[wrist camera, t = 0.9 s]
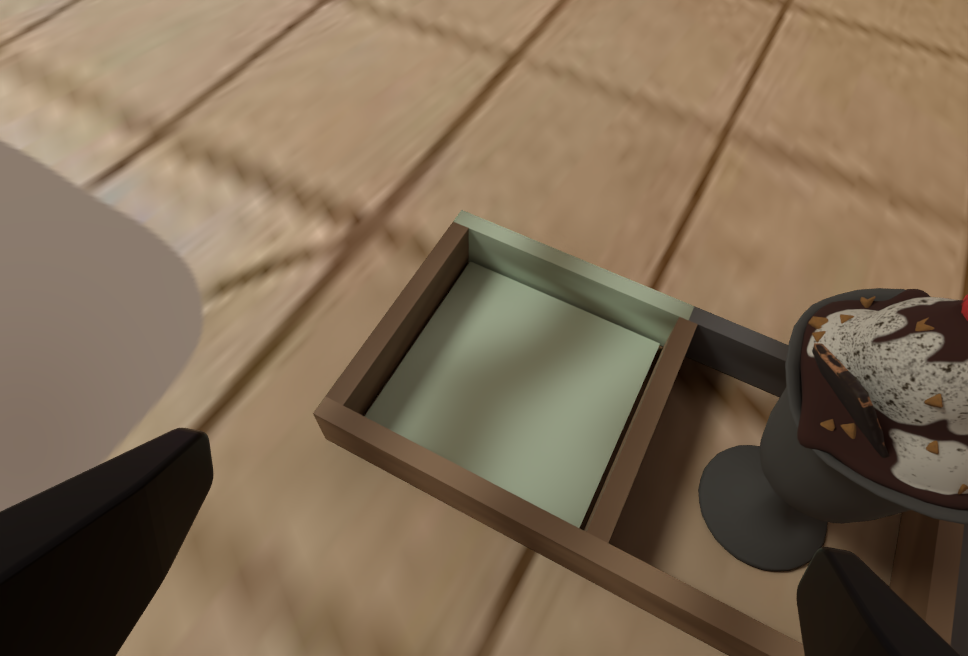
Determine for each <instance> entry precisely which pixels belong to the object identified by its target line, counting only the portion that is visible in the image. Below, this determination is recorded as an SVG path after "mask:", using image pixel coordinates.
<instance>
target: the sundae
mask: <svg viewBox="0 0 968 656" xmlns="http://www.w3.org/2000/svg"><path fill="white" fill-rule="evenodd" d="M785 368H786V389H785V390H784V392H783V394H782V395H781V397H780V398H779V400H778V402H777V403H776V405H775V407H774V408H773V410H772V412H771V414H770V416H769V419H768V422H767V424H766V427H765V430H764V432H763V436H762V439H761V443H760V446H752V445H740V446H736V447H732V448H729V449H727V450H724V451H722V452H720V453H718V454H717V455H716V456H715V457H714V458H713V459H712V460H711V461H710V462H709V463H708V465H707V466H706V467H705V469H704V471H703V474H702V477H701V480H700V485H699V490H698V491H699V503H700V508H701V513H702V516H703V518H704V520H705V522H706V524H707V526H708V528H709V530H710V531H711V533H712V535H713V536H714V538H715V539H716V540H717V541H718V542H719V543H720V544H721V545H722V546H723V547H724V548H725V549H726V550H727V551H728V552H729V553H730V554H732V555H733V556H734V557H735V558H737V559H739V560H741V561H742V562H744V563H746V564H748V565H751V566H753V567H756V568H759V569H761V570H769V571H789V570H792V569H795V568H798V567H801V566H802V565H804V564H806V563H808V562H810V561H811V560H812V558H813V556H814V554H815V552H816V551H817V550H818V549H819V548H821V547H822V545H823V544H824V540H825V536H826V531H827V522H831V523H852V522H862V521H870V520H875V519H879V518H883V517H886V516H890V515H894V514H898V513H902V512H906V511H909V510H912V511H915V512H918V513H920V514H923V515H926V516H928V517H931V518H934V519H939V520H944V521H949V522H954V523H959V524H967V525H968V295H966V296H965V298H964V299H963V300H953V299H948V298H936V297H930V296H929V295H928V294H927V293H926V292H924V291H922V290H918V289H907V290H904V289H882V288H877V289H864V290H855V291H851V292H847V293H843V294H839V295H836V296H832V297H829V298H826V299H824V300H822V301H820V302H818V303H815V304H813V305H812V306H811V307H810V308H809V309H808V310H806V311H805V312H804V313H803V315H802V316H801V317H800V319H799V320H798V322H797V323H796V324H795V326H794V328H793V331H792V335H791V338H790V341H789V346H788V351H787V357H786V363H785Z"/></svg>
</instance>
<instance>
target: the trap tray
mask: <svg viewBox="0 0 968 656" xmlns="http://www.w3.org/2000/svg"><path fill="white" fill-rule="evenodd" d="M468 262H469V264H468V265H467V263H468ZM466 265H467V267H466V268H465V266H466ZM464 268H465V270H464V271H463V269H464ZM462 271H463V273H462V274H461V272H462ZM460 274H461V276H460V277H459V275H460ZM458 277H459V279H458V280H457V278H458ZM456 280H457V281H456ZM455 281H456V283H455V284H454V282H455ZM453 284H454V286H453V287H452V285H453ZM451 287H452V289H451V290H450V288H451ZM449 290H450V292H449V293H448V291H449ZM447 293H448V295H447V296H446V294H447ZM445 296H446V298H445V299H444V297H445ZM443 299H444V301H443V302H442V300H443ZM441 302H442V303H441ZM440 303H441V305H440V306H439V304H440ZM438 306H439V308H438V309H437V307H438ZM436 309H437V311H436V312H435V310H436ZM434 312H435V314H434V315H433V313H434ZM432 315H433V317H432V318H431V316H432ZM430 318H431V320H430V321H429V319H430ZM428 321H429V323H428V324H427V325H426V323H427V322H428ZM425 325H426V327H425V328H424V326H425ZM423 328H424V330H423V331H422V329H423ZM421 331H422V333H421V334H420V332H421ZM419 334H420V336H419V337H418V335H419ZM417 337H418V339H417V340H416V338H417ZM415 340H416V342H415V343H414V345H413V346H412V347H411V345H412V344H413V342H414V341H415ZM659 345H661V346H663V349H662V351H661V353H660V356H659V358H658V360H657V363H656V365H655V367H654V370H653V372H652V374H651V376H650V379H649V381H648V383H647V386H646V388H645V390H644V393H643V395H642V397H641V400H640V402H639V404H638V406H637V409H636V411H635V413H634V416H633V418H632V420H631V423H630V425H629V427H628V430H627V432H626V434H625V436H624V439H623V441H622V443H621V446H620V448H619V450H618V453H617V455H616V457H615V460H614V462H613V464H612V467H611V469H610V471H609V473H608V476H607V478H606V480H605V483H604V485H603V487H602V490H601V492H600V494H599V497H598V499H597V501H596V503H595V506H594V508H593V510H592V513H591V515H590V517H589V520H588V522H587V524H586V527H585V529H584V530H582V529H580V525H581V523H582V521H583V519H584V516H585V514H586V512H587V509H588V507H589V505H590V503H591V500H592V498H593V496H594V493H595V491H596V489H597V487H598V484H599V482H600V480H601V477H602V475H603V473H604V471H605V468H606V466H607V464H608V461H609V459H610V457H611V455H612V452H613V450H614V448H615V445H616V443H617V441H618V439H619V436H620V434H621V432H622V429H623V427H624V425H625V423H626V420H627V418H628V416H629V413H630V411H631V409H632V407H633V404H634V402H635V400H636V397H637V395H638V393H639V391H640V388H641V386H642V384H643V381H644V379H645V377H646V375H647V372H648V370H649V368H650V366H651V363H652V361H653V359H654V356H655V354H656V352H657V350H658V347H659ZM788 346H789V345H786V344H784V343H782V342H779V341H777V340H774V339H772V338H770V337H767V336H765V335H762V334H760V333H757V332H755V331H753V330H750V329H748V328H745V327H743V326H741V325H738V324H736V323H733V322H731V321H729V320H726V319H724V318H721V317H719V316H716V315H714V314H712V313H709V312H707V311H704V310H702V309H700V308H697V307H695V306H692V305H690V304H687V303H685V302H683V301H680V300H678V299H675V298H673V297H671V296H668V295H666V294H663V293H661V292H659V291H656V290H654V289H651V288H649V287H646V286H644V285H642V284H639V283H637V282H634V281H632V280H630V279H627V278H625V277H622V276H620V275H617V274H615V273H613V272H610V271H608V270H605V269H603V268H601V267H598V266H596V265H593V264H591V263H589V262H586V261H584V260H581V259H579V258H576V257H574V256H572V255H569V254H567V253H564V252H562V251H560V250H557V249H555V248H552V247H550V246H548V245H545V244H543V243H540V242H538V241H535V240H533V239H531V238H528V237H526V236H523V235H521V234H519V233H516V232H514V231H511V230H509V229H506V228H504V227H502V226H499V225H497V224H494V223H492V222H490V221H487V220H485V219H482V218H480V217H478V216H475V215H473V214H470V213H468V212H465V211H463V210H461V212H460V213H459V214H458V216H457V217H456V218H455V220H454V221H453V223H452V224H451V225H450V227H449V228H448V229H447V231H446V232H445V234H444V235H443V236H442V238H441V239H440V240H439V242H438V243H437V244H436V246H435V247H434V249H433V250H432V251H431V253H430V254H429V255H428V257H427V258H426V259H425V261H424V262H423V264H422V265H421V266H420V268H419V269H418V270H417V272H416V273H415V275H414V276H413V277H412V279H411V280H410V281H409V283H408V284H407V285H406V287H405V288H404V290H403V291H402V292H401V294H400V295H399V296H398V298H397V299H396V300H395V302H394V303H393V305H392V306H391V307H390V309H389V310H388V311H387V313H386V314H385V316H384V317H383V318H382V320H381V321H380V322H379V324H378V325H377V326H376V328H375V329H374V331H373V332H372V333H371V335H370V336H369V337H368V339H367V340H366V341H365V343H364V344H363V346H362V347H361V348H360V350H359V351H358V352H357V354H356V355H355V357H354V358H353V359H352V361H351V362H350V363H349V365H348V366H347V367H346V369H345V370H344V372H343V373H342V374H341V376H340V377H339V378H338V380H337V381H336V383H335V384H334V385H333V387H332V388H331V389H330V391H329V392H328V393H327V395H326V396H325V398H324V399H323V400H322V402H321V403H320V404H319V406H318V407H317V408H316V410H315V411H314V413H313V414H314V416H315V418H316V420H317V422H318V424H319V426H320V428H321V430H322V432H323V434H324V436H325V438H326V439H327V440H329V441H331V442H333V443H335V444H337V445H339V446H340V447H342V448H344V449H346V450H348V451H350V452H352V453H353V454H355V455H357V456H359V457H361V458H363V459H365V460H366V461H368V462H370V463H372V464H374V465H376V466H378V467H379V468H381V469H383V470H385V471H387V472H389V473H391V474H392V475H394V476H396V477H398V478H400V479H402V480H404V481H405V482H407V483H409V484H411V485H413V486H415V487H417V488H418V489H420V490H422V491H424V492H426V493H428V494H430V495H431V496H433V497H435V498H437V499H439V500H441V501H443V502H445V503H446V504H448V505H450V506H452V507H454V508H456V509H458V510H459V511H461V512H463V513H465V514H467V515H469V516H471V517H472V518H474V519H476V520H478V521H480V522H482V523H484V524H485V525H487V526H489V527H491V528H493V529H495V530H497V531H498V532H500V533H502V534H504V535H506V536H508V537H510V538H511V539H513V540H515V541H517V542H519V543H521V544H523V545H524V546H526V547H528V548H530V549H532V550H534V551H536V552H537V553H539V554H541V555H543V556H545V557H547V558H549V559H550V560H552V561H554V562H556V563H558V564H560V565H562V566H563V567H565V568H567V569H569V570H571V571H573V572H575V573H576V574H578V575H580V576H582V577H584V578H586V579H588V580H589V581H591V582H593V583H595V584H597V585H599V586H601V587H602V588H604V589H606V590H608V591H610V592H612V593H614V594H616V595H617V596H619V597H621V598H623V599H625V600H627V601H629V602H630V603H632V604H634V605H636V606H638V607H640V608H642V609H643V610H645V611H647V612H649V613H651V614H653V615H655V616H656V617H658V618H660V619H662V620H664V621H666V622H668V623H669V624H671V625H673V626H675V627H677V628H679V629H681V630H682V631H684V632H686V633H688V634H690V635H692V636H694V637H695V638H697V639H699V640H701V641H703V642H705V643H707V644H708V645H710V646H712V647H714V648H716V649H718V650H720V651H721V652H723V653H725V654H727V655H729V656H805V655H804V648H803V644H801V643H799V642H797V641H795V640H793V639H791V638H790V637H788V636H786V635H784V634H782V633H780V632H778V631H776V630H774V629H772V628H770V627H768V626H766V625H765V624H763V623H761V622H759V621H757V620H755V619H753V618H751V617H749V616H747V615H745V614H743V613H741V612H739V611H738V610H736V609H734V608H732V607H730V606H728V605H726V604H724V603H722V602H720V601H718V600H716V599H714V598H713V597H711V596H709V595H707V594H705V593H703V592H701V591H699V590H697V589H695V588H693V587H691V586H689V585H688V584H686V583H684V582H682V581H680V580H678V579H676V578H674V577H672V576H670V575H668V574H666V573H664V572H663V571H661V570H659V569H657V568H655V567H653V566H651V565H649V564H647V563H645V562H643V561H641V560H639V559H638V558H636V557H634V556H632V555H630V554H628V553H626V552H624V551H622V550H620V549H618V548H616V547H614V546H612V545H611V544H609V540H610V538H611V535H612V533H613V531H614V528H615V526H616V523H617V521H618V518H619V516H620V513H621V511H622V508H623V506H624V504H625V501H626V499H627V496H628V494H629V491H630V489H631V486H632V484H633V482H634V479H635V477H636V474H637V472H638V469H639V467H640V464H641V462H642V459H643V457H644V455H645V452H646V450H647V447H648V445H649V442H650V440H651V437H652V435H653V433H654V430H655V428H656V425H657V423H658V420H659V418H660V415H661V413H662V411H663V408H664V406H665V403H666V401H667V398H668V396H669V393H670V391H671V388H672V386H673V384H674V381H675V379H676V376H677V374H678V371H679V369H680V366H681V364H682V362H683V359H684V357H685V356H686V357H689V358H691V359H693V360H696V361H698V362H700V363H702V364H705V365H707V366H709V367H712V368H714V369H716V370H719V371H721V372H723V373H725V374H728V375H730V376H732V377H735V378H737V379H739V380H742V381H744V382H746V383H749V384H751V385H753V386H755V387H758V388H760V389H762V390H765V391H767V392H769V393H772V394H774V395H776V396H778V397H781V395H782V394H783V392H784V390H785V389H786V368H785V363H786V357H787V351H788ZM410 347H411V349H410V350H409V348H410ZM408 350H409V352H408V353H407V351H408ZM406 353H407V355H406V356H405V354H406ZM404 356H405V358H404V359H403V357H404ZM402 359H403V361H402V362H401V360H402ZM400 362H401V364H400V365H399V367H398V368H397V369H396V367H397V366H398V364H399V363H400ZM395 369H396V371H395V372H394V370H395ZM393 372H394V374H393V375H392V373H393ZM391 375H392V377H391V378H390V376H391ZM389 378H390V380H389V381H388V379H389ZM387 381H388V383H387V384H386V386H385V387H384V389H383V390H382V391H381V389H382V388H383V386H384V385H385V383H386V382H387ZM380 391H381V393H380V394H379V392H380ZM378 394H379V396H378V397H377V395H378ZM376 397H377V399H376V400H375V398H376ZM374 400H375V402H374V403H373V401H374ZM372 403H373V405H372V406H371V408H370V409H369V411H368V412H367V413H366V411H367V410H368V408H369V407H370V405H371V404H372ZM365 413H366V415H365V416H364V414H365ZM890 588H891V589H892V590H893V591H894V592H895V593H896V594H897V595H898V596H899V597H900V598H901V599H902V600H903V601H904V602H905V603H906V604H908V605H909V606H910V607H911V608H912V609H913V610H914V611H915V612H916V613H917V614H918V615H919V616H920V617H921V618H922V619H923V620H924V621H925V622H926V623H927V624H928V625H929V626H930V627H931V628H933V629H934V630H935V631H936V632H937V633H938V634H939V635H940V636H941V637H942V638H943V639H944V640H945V641H946V642H947V643H948V644H949V645H950V646H951V647H952V648H953V649H954V650H955V651H956V652H958V653H959V654H960V655H961V656H968V525H967V524H959V523H954V522H949V521H944V520H939V519H934V518H931V517H928V516H926V515H923V514H920V513H918V512H915V511H912V510H909V511H906V512H902V517H901V523H900V529H899V535H898V541H897V547H896V553H895V559H894V564H893V570H892V576H891V582H890Z"/></svg>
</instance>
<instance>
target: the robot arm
mask: <svg viewBox="0 0 968 656" xmlns="http://www.w3.org/2000/svg"><path fill="white" fill-rule="evenodd" d="M212 481H213V465H212V458H211V450H210V443H209V438H208V436H207V434H206V433H205V432H203V431H198V430H193V429H188V428H177V429H174V430H172V431H170V432H167V433H165V434H163V435H161V436H159V437H157V438H155V439H153V440H151V441H148V442H146V443H144V444H142V445H140V446H138V447H136V448H134V449H132V450H130V451H127V452H125V453H123V454H121V455H119V456H117V457H115V458H113V459H111V460H108V461H106V462H104V463H102V464H100V465H98V466H96V467H94V468H92V469H89V470H87V471H85V472H83V473H81V474H79V475H77V476H75V477H73V478H70V479H68V480H66V481H64V482H62V483H60V484H58V485H56V486H54V487H51V488H49V489H47V490H45V491H43V492H41V493H39V494H37V495H35V496H32V497H31V498H28V499H26V500H24V501H22V502H20V503H18V504H16V505H14V506H11V507H9V508H7V509H5V510H3V511H1V512H0V656H116V654H117V653H118V651H119V650H120V648H121V647H122V645H123V643H124V642H125V640H126V639H127V637H128V636H129V634H130V633H131V631H132V629H133V628H134V626H135V625H136V623H137V622H138V620H139V618H140V617H141V615H142V614H143V612H144V611H145V609H146V607H147V606H148V604H149V603H150V601H151V600H152V598H153V597H154V595H155V593H156V592H157V590H158V588H159V587H160V585H161V583H162V582H163V580H164V579H165V577H166V575H167V573H168V571H169V569H170V567H171V565H172V564H173V562H174V560H175V558H176V556H177V554H178V552H179V550H180V548H181V546H182V544H183V542H184V540H185V538H186V536H187V534H188V532H189V530H190V528H191V526H192V524H193V522H194V520H195V518H196V516H197V514H198V512H199V510H200V508H201V506H202V504H203V502H204V500H205V498H206V496H207V494H208V492H209V490H210V488H211V485H212ZM797 607H798V614H799V621H800V628H801V634H802V641H803V648H804V655H805V656H961V655H960V654H959V653H958V652H956V651H955V650H954V649H953V648H952V647H951V646H950V645H949V644H948V643H947V642H946V641H945V640H944V639H943V638H942V637H941V636H940V635H939V634H938V633H937V632H936V631H935V630H934V629H933V628H931V627H930V626H929V625H928V624H927V623H926V622H925V621H924V620H923V619H922V618H921V617H920V616H919V615H918V614H917V613H916V612H915V611H914V610H913V609H912V608H911V607H910V606H909V605H908V604H906V603H905V602H904V601H903V600H902V599H901V598H900V597H899V596H898V595H897V594H896V593H895V592H894V591H893V590H892V589H891V588H890V587H889V586H888V585H887V584H886V583H885V582H884V581H883V580H881V579H880V578H879V577H878V576H877V575H876V574H875V573H874V572H873V571H872V570H871V569H870V568H869V567H868V566H867V565H866V564H865V563H864V562H863V561H862V560H861V559H860V558H859V557H857V556H856V555H855V554H854V553H852V552H849V551H846V550H841V549H835V548H830V547H821V548H819V549H818V550H817V551H816V552H815V554H814V556H813V558H812V560H811V562H810V563H809V565H808V567H807V569H806V571H805V573H804V575H803V577H802V579H801V581H800V582H799V585H798V589H797Z"/></svg>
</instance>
